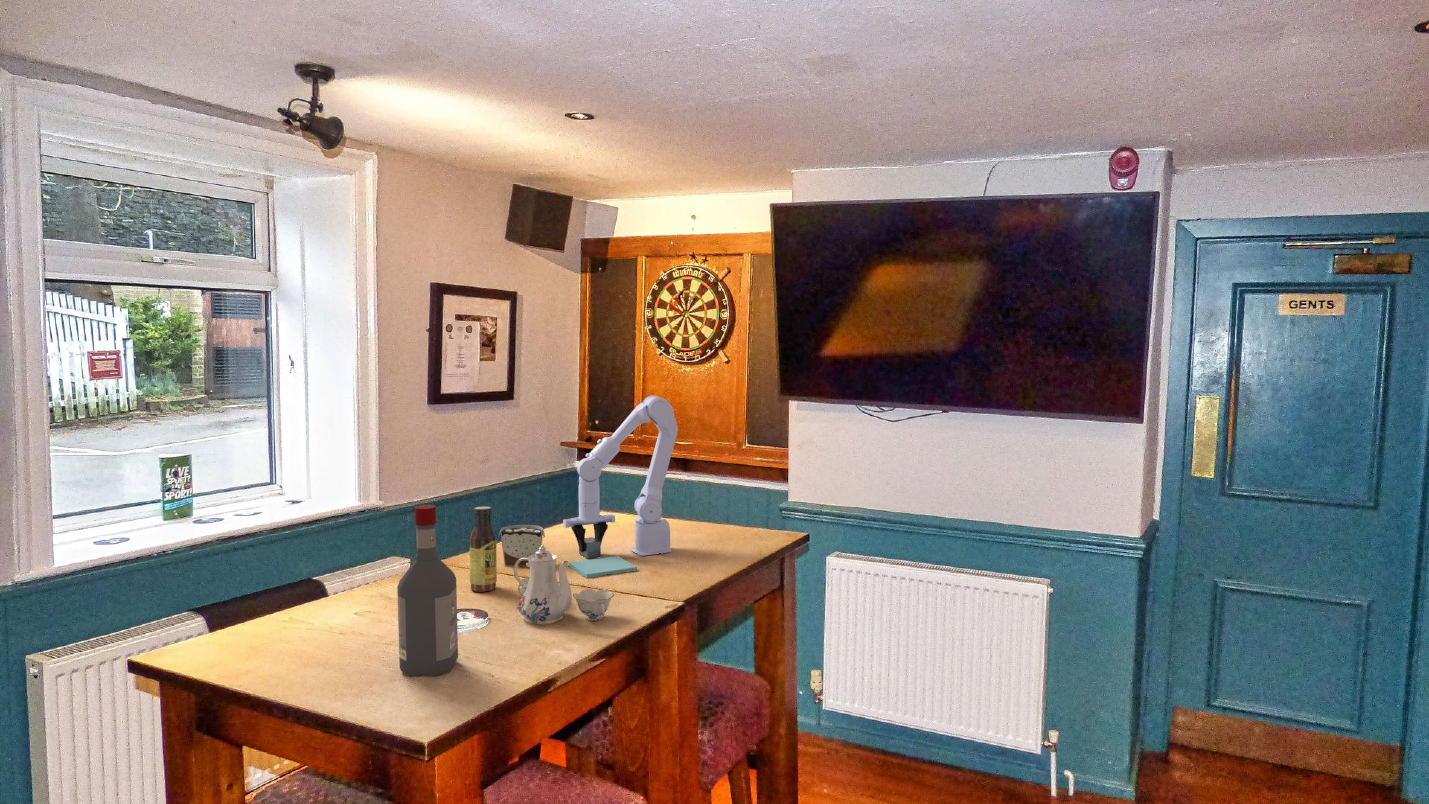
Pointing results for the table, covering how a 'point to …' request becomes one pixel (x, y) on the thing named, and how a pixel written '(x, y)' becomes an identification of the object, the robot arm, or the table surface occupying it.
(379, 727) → the table surface
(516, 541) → the food container
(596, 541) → the block
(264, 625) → the table surface
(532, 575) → the chinaware
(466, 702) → the table surface
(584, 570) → the teal board
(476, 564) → the sauce bottle
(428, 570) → the liquor
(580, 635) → the table surface
